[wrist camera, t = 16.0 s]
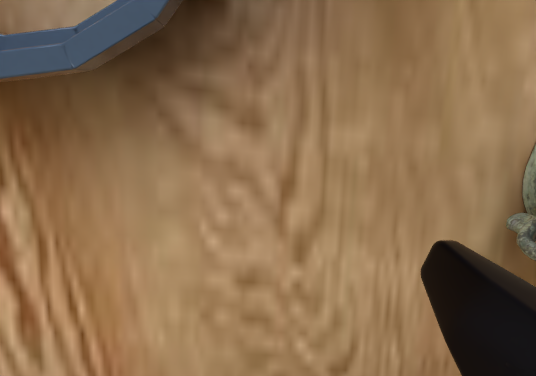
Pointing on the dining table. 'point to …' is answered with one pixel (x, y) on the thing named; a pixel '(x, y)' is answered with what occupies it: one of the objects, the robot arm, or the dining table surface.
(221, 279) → the dining table surface
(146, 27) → the bowl
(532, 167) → the vessel
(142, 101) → the dining table surface
